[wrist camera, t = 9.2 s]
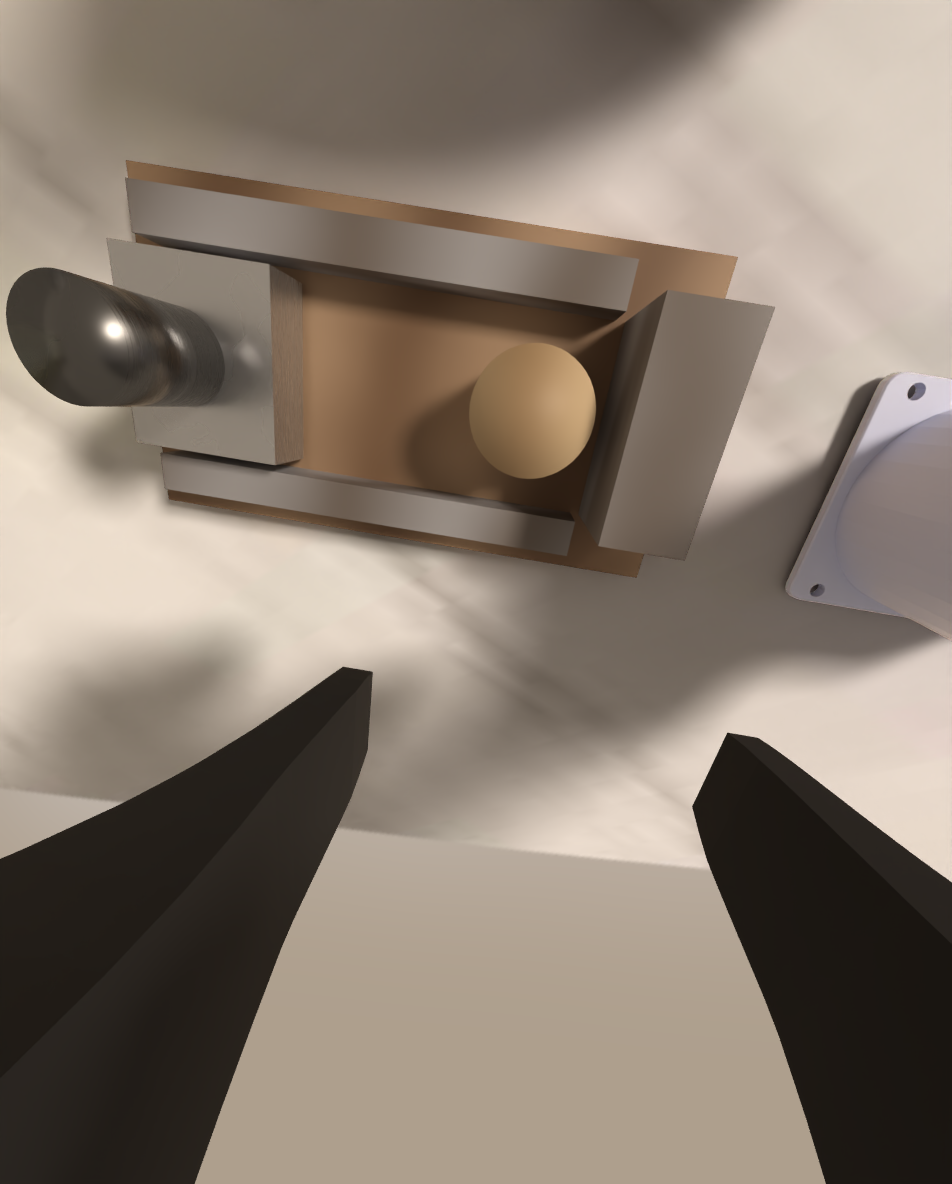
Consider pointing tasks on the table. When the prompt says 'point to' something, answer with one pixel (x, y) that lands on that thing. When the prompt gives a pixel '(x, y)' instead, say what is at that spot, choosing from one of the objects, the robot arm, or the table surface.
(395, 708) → the table surface
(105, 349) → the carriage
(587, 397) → the tan rounded cylinder
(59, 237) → the table surface
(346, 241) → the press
